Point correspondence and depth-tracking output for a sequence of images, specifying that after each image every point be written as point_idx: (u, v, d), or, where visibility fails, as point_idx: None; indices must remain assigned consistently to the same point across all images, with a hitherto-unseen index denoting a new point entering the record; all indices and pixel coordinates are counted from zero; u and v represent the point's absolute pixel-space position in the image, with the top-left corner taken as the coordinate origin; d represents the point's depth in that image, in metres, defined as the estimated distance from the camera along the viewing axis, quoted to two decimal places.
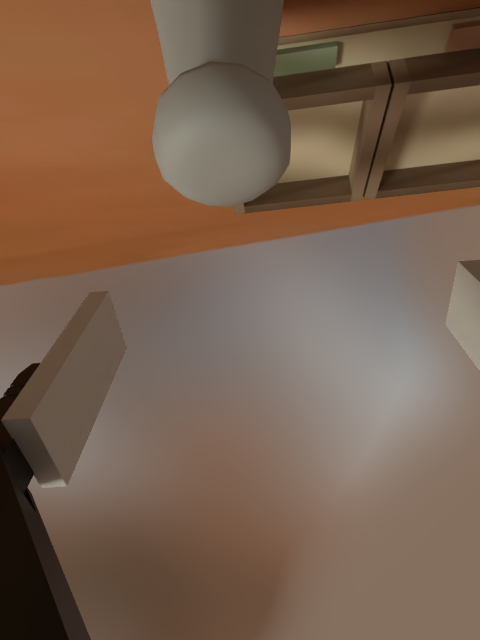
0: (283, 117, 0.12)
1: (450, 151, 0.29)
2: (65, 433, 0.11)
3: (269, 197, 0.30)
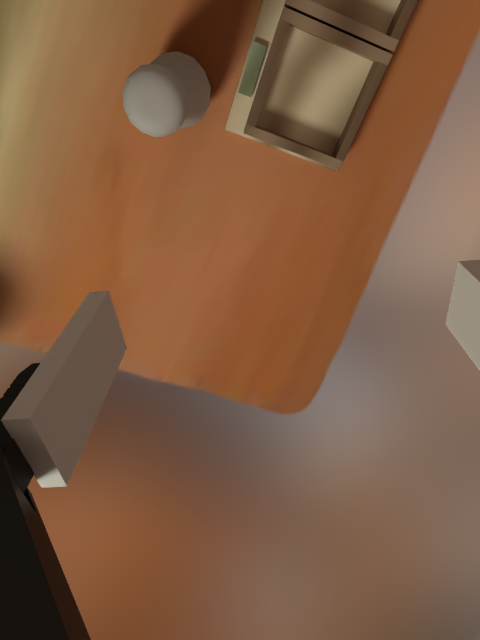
0: None
1: None
2: (65, 433, 0.11)
3: (344, 136, 0.37)
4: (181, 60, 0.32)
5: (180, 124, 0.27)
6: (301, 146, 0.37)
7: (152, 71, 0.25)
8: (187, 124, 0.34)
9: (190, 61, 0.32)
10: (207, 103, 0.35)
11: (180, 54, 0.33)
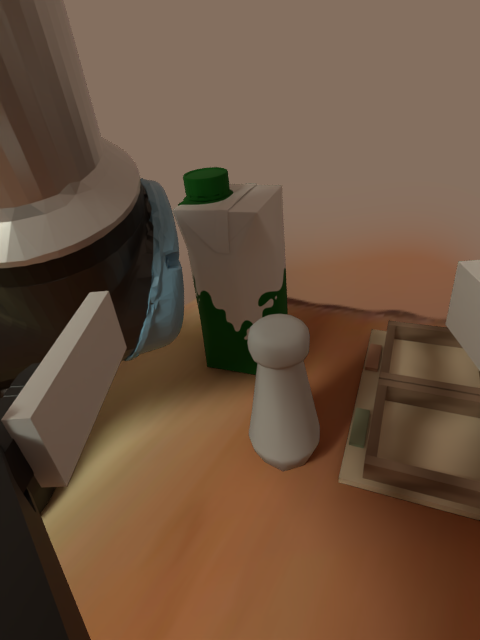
0: None
1: (464, 365, 0.40)
2: (65, 433, 0.11)
3: None
4: None
5: (303, 345, 0.26)
6: (444, 474, 0.28)
7: (279, 314, 0.29)
8: (297, 434, 0.30)
9: None
10: (318, 432, 0.32)
11: None
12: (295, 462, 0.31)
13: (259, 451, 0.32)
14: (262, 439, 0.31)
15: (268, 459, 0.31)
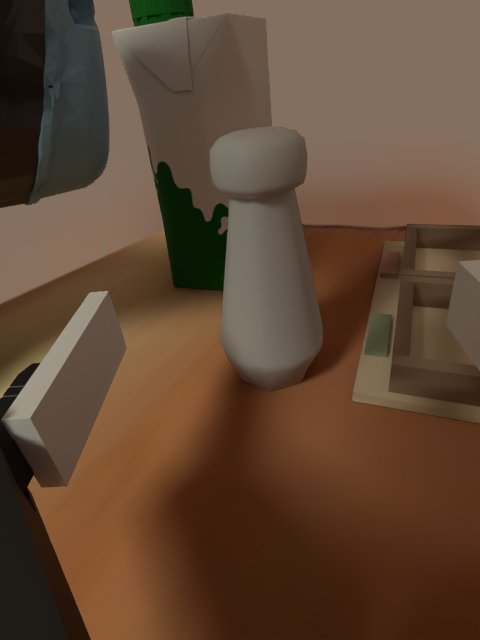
0: None
1: None
2: (65, 433, 0.11)
3: None
4: None
5: (297, 153, 0.16)
6: None
7: None
8: (291, 323, 0.20)
9: None
10: (320, 328, 0.22)
11: None
12: (288, 371, 0.21)
13: (234, 357, 0.21)
14: (237, 336, 0.21)
15: (247, 368, 0.21)
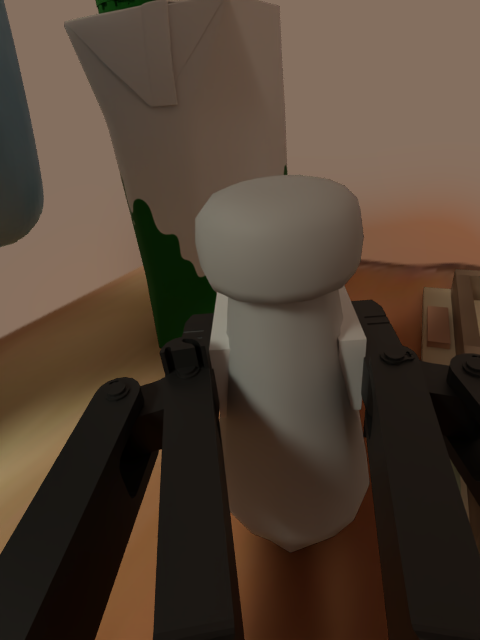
0: None
1: None
2: None
3: None
4: None
5: (350, 231, 0.09)
6: None
7: None
8: (326, 480, 0.12)
9: None
10: (366, 468, 0.14)
11: None
12: (318, 540, 0.14)
13: (236, 513, 0.14)
14: (241, 489, 0.13)
15: (257, 533, 0.14)
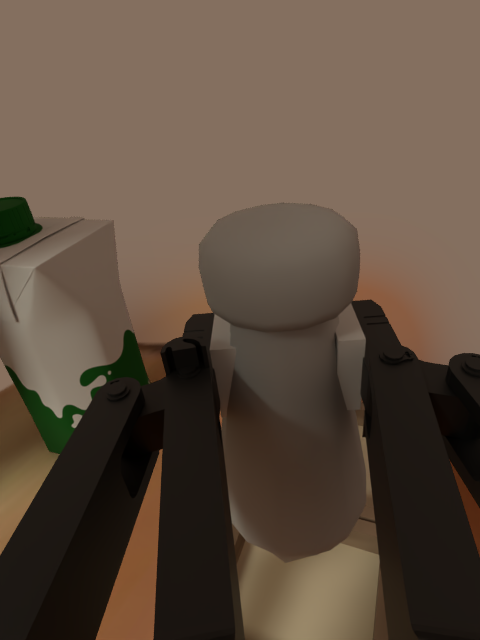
0: None
1: None
2: None
3: None
4: None
5: (343, 265, 0.09)
6: None
7: None
8: (319, 498, 0.13)
9: None
10: (363, 487, 0.14)
11: None
12: (311, 554, 0.14)
13: (233, 522, 0.15)
14: (238, 500, 0.14)
15: (252, 542, 0.14)
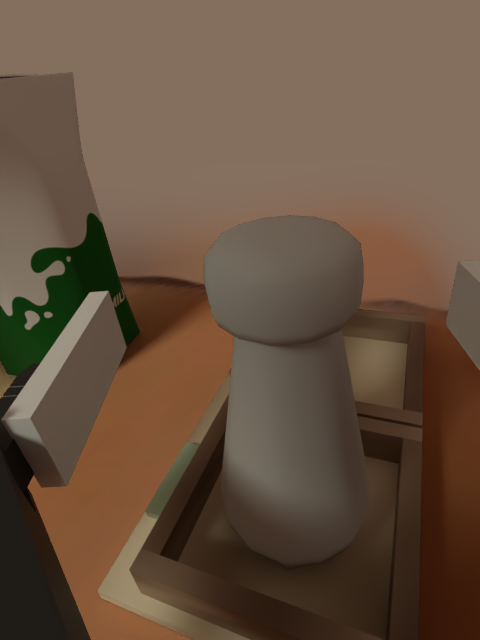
0: None
1: (384, 367, 0.25)
2: (65, 433, 0.11)
3: (392, 583, 0.14)
4: None
5: (347, 280, 0.09)
6: (278, 603, 0.13)
7: None
8: (322, 507, 0.13)
9: None
10: (366, 495, 0.15)
11: None
12: (314, 562, 0.14)
13: (237, 529, 0.15)
14: (242, 507, 0.14)
15: (255, 550, 0.14)
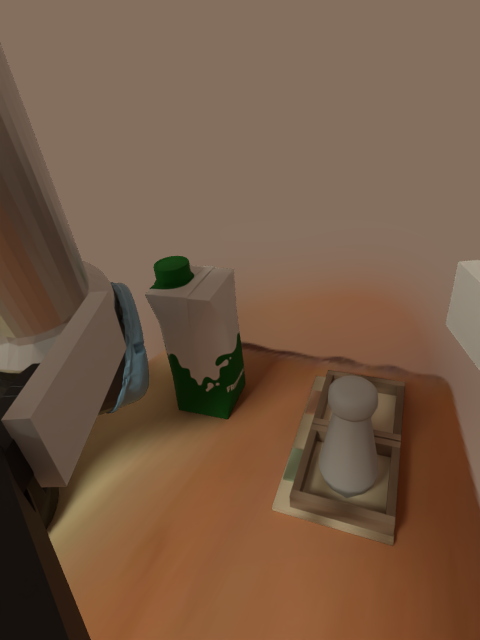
0: None
1: (384, 409, 0.49)
2: (65, 433, 0.11)
3: None
4: None
5: (374, 404, 0.34)
6: (347, 505, 0.38)
7: (352, 375, 0.36)
8: (363, 471, 0.37)
9: None
10: (377, 468, 0.39)
11: None
12: (358, 492, 0.39)
13: (329, 481, 0.39)
14: (332, 472, 0.38)
15: (336, 488, 0.39)
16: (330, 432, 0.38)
